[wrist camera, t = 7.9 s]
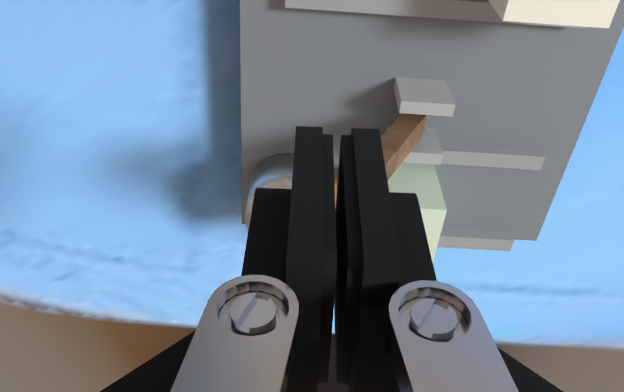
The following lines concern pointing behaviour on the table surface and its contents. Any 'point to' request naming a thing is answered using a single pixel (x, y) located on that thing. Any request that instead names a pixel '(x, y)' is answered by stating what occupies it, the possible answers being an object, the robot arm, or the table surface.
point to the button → (270, 177)
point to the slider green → (423, 196)
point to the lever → (399, 141)
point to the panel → (428, 97)
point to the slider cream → (558, 11)
